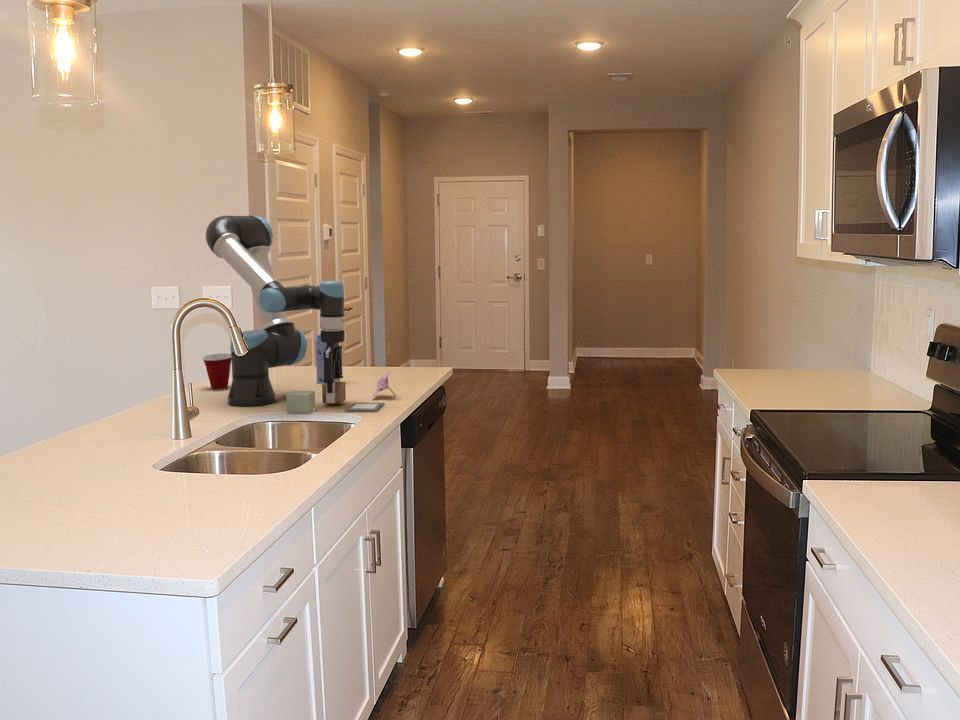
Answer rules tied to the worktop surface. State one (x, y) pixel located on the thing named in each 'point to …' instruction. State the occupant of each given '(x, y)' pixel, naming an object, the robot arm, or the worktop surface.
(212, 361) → the plastic cup
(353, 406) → the slate build plate
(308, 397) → the sage block
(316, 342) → the aerosol can
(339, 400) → the walnut block
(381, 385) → the lily
